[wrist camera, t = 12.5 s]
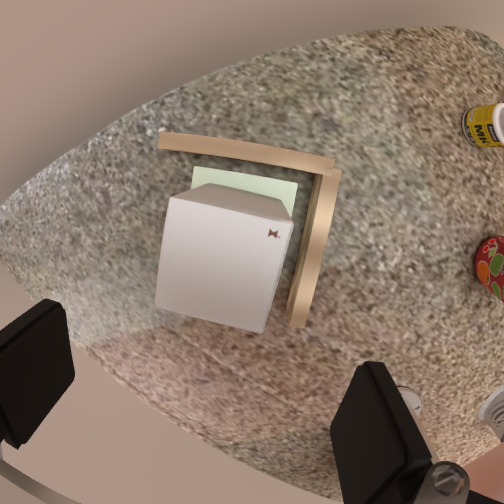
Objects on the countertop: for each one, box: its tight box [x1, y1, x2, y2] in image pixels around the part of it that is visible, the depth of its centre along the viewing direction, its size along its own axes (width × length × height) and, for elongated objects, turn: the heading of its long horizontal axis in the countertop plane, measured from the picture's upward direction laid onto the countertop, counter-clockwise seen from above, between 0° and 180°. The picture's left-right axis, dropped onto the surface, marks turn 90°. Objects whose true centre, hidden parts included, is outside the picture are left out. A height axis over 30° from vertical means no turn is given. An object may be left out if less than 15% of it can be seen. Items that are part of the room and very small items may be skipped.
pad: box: [191, 166, 298, 217], centre depth 30 cm, size 10×10×1 cm
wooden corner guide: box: [157, 131, 342, 329], centre depth 28 cm, size 16×16×4 cm
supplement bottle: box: [462, 103, 504, 147], centre depth 22 cm, size 5×5×8 cm
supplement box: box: [154, 183, 294, 334], centre depth 23 cm, size 7×7×13 cm
